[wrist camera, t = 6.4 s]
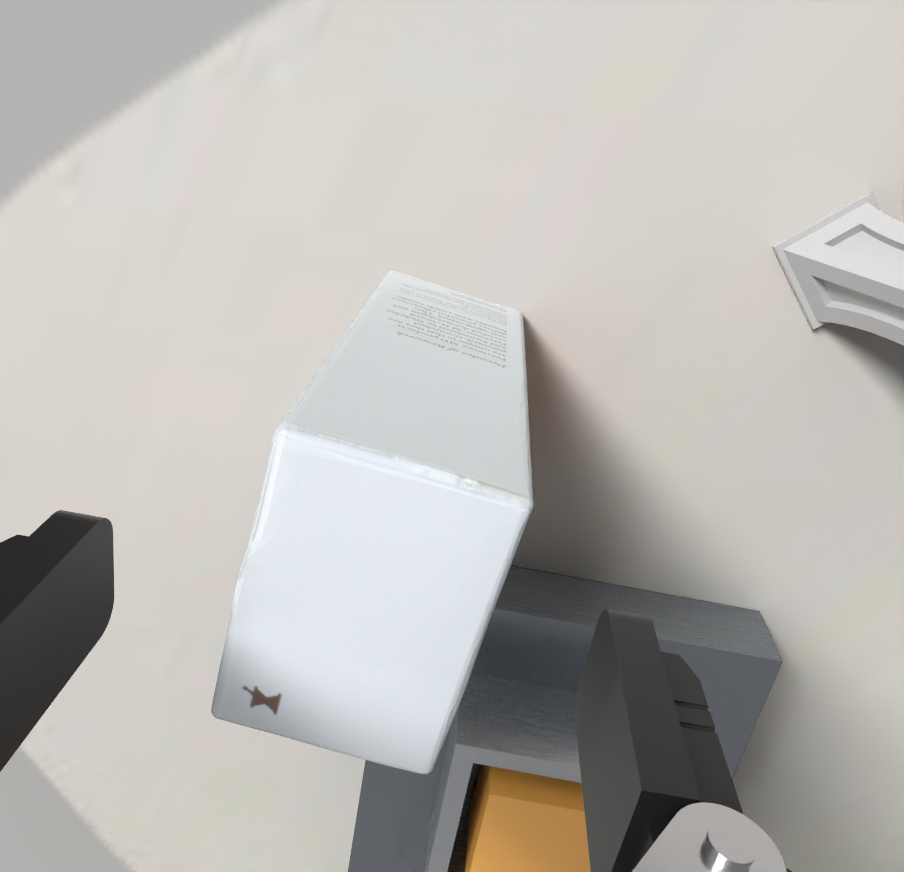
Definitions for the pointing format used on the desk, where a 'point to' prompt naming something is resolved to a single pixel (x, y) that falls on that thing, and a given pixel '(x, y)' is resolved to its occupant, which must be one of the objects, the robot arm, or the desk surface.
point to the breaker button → (526, 824)
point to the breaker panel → (550, 707)
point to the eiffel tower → (849, 269)
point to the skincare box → (384, 530)
